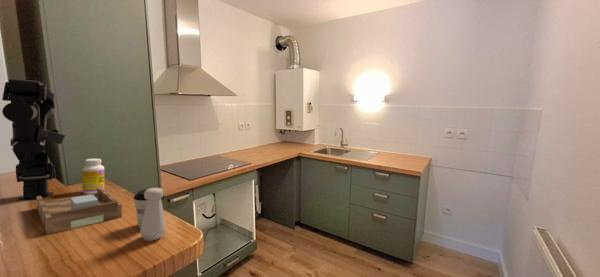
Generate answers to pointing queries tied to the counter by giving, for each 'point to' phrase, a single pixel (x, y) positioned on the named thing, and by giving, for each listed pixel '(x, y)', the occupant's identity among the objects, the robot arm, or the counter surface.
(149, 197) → the salt shaker
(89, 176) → the supplement bottle
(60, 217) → the wooden tray
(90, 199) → the block
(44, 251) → the counter surface
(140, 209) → the coffee cup
